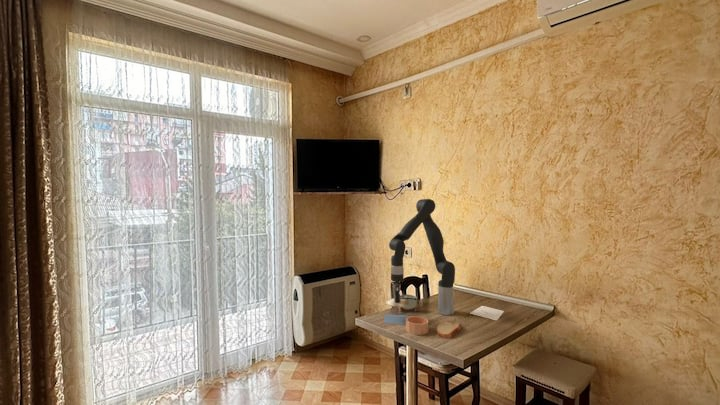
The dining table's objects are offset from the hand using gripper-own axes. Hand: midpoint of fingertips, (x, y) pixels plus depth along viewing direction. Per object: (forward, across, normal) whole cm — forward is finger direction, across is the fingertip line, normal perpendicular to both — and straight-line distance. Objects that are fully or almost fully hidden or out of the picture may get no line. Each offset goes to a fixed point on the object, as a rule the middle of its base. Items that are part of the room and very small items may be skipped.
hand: (397, 301), depth 195 cm
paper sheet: (+13, +17, -63) cm, 66 cm away
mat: (+11, 0, 0) cm, 11 cm away
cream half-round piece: (+12, +17, -7) cm, 22 cm away
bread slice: (+12, -13, -28) cm, 34 cm away
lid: (+1, 0, 0) cm, 1 cm away
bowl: (+11, -15, -11) cm, 22 cm away
